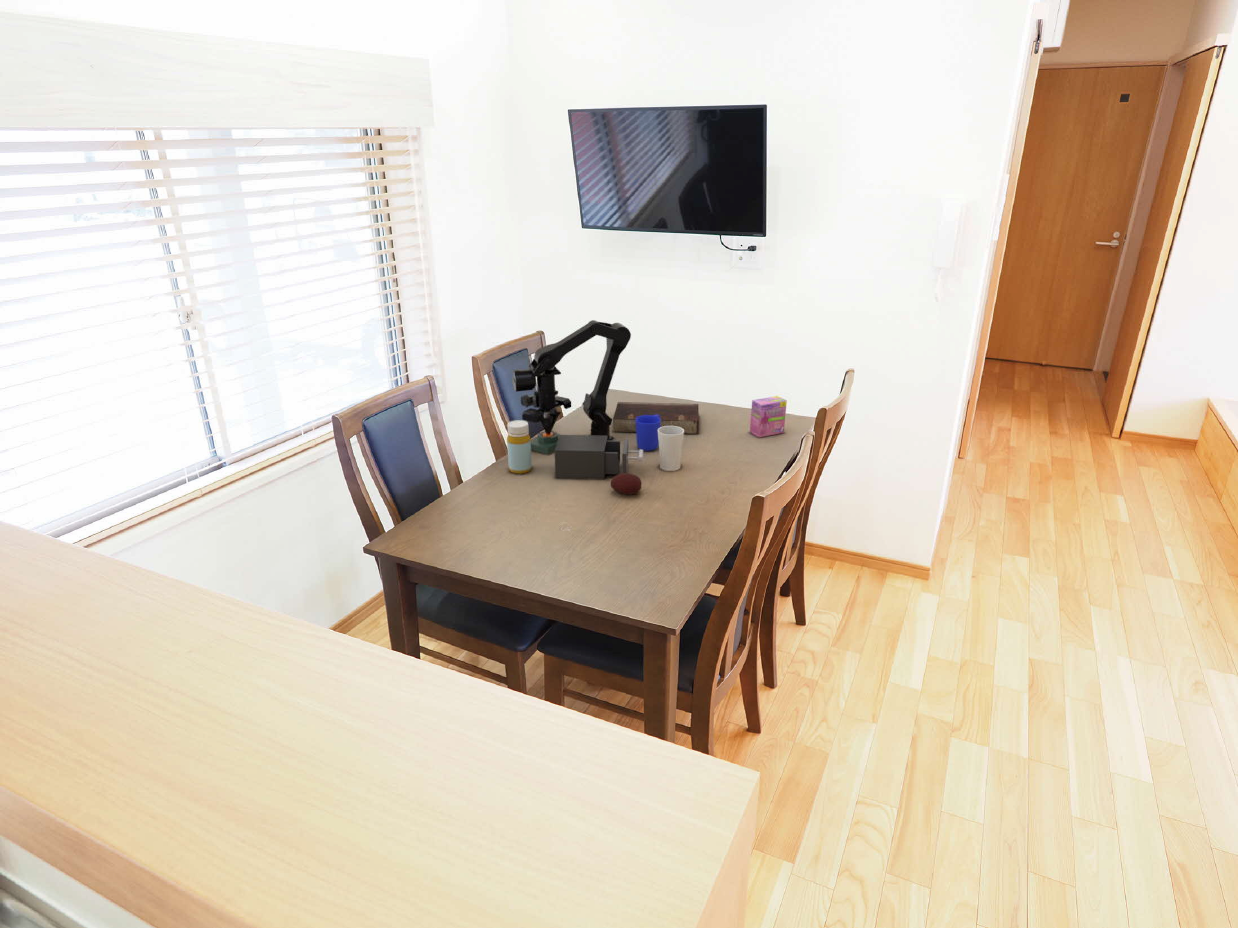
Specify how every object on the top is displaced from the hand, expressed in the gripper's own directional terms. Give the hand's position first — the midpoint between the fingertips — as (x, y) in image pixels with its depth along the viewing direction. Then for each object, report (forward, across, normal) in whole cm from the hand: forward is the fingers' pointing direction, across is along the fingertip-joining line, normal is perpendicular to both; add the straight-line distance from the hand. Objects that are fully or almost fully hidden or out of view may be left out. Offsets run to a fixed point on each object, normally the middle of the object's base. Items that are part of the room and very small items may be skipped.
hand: (548, 434), depth 256 cm
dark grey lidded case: (+4, +10, +21) cm, 24 cm away
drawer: (+3, +5, +29) cm, 30 cm away
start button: (+2, 0, 0) cm, 2 cm away
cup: (+4, -7, +42) cm, 43 cm away
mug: (+4, -18, +28) cm, 33 cm away
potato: (+4, +16, +41) cm, 44 cm away
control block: (+4, 0, 0) cm, 4 cm away
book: (+4, -37, +19) cm, 42 cm away
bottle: (+4, +20, +5) cm, 21 cm away
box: (+4, -50, +55) cm, 74 cm away
